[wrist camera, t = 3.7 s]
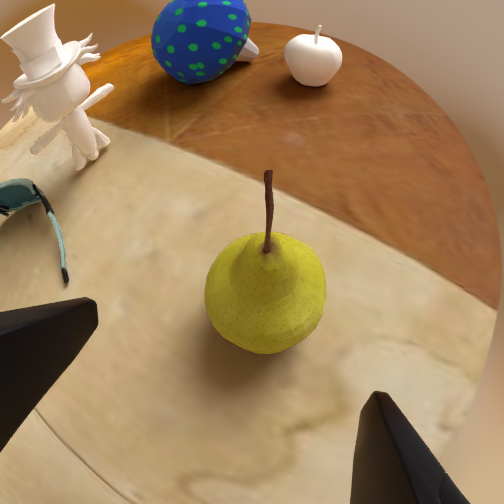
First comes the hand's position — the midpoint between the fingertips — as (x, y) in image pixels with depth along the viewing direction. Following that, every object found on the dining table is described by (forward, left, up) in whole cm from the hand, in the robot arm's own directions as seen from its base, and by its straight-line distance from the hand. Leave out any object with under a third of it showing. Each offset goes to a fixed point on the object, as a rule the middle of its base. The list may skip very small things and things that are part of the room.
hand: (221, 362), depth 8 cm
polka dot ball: (+36, -5, -11) cm, 38 cm away
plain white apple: (+30, -17, -11) cm, 36 cm away
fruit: (+4, -3, -11) cm, 12 cm away
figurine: (+24, +10, -11) cm, 29 cm away
